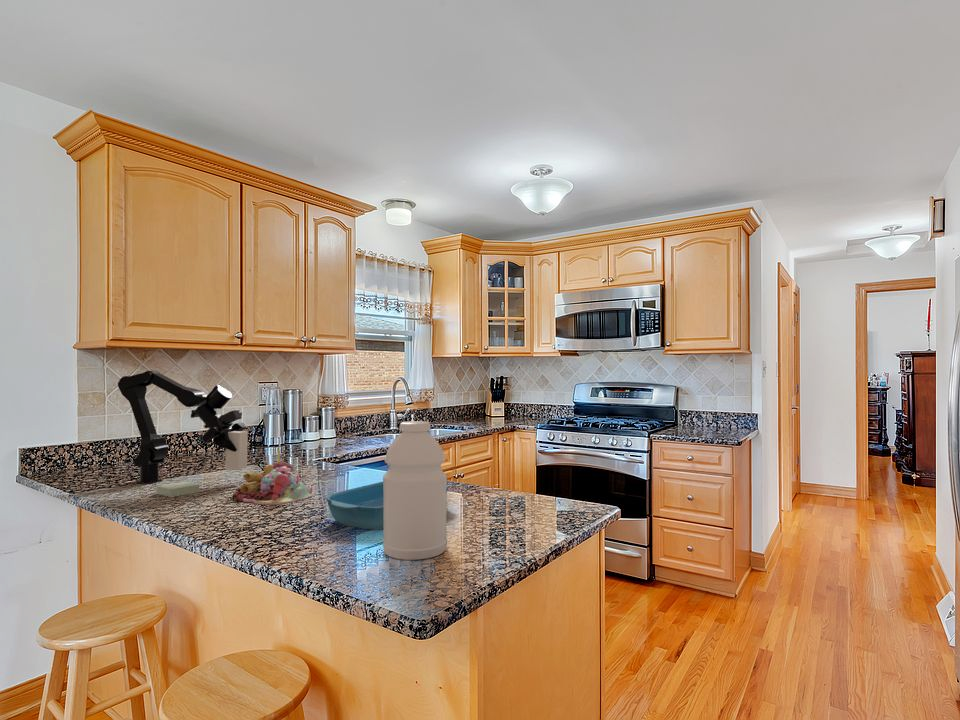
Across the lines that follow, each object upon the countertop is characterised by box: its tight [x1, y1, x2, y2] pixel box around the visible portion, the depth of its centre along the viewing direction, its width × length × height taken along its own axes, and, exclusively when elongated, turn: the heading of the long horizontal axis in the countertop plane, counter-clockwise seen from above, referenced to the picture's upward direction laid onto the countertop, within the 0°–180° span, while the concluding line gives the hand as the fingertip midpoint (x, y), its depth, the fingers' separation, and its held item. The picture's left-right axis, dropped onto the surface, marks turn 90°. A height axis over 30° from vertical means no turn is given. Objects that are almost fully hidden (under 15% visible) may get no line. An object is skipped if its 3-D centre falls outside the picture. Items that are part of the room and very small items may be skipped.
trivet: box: [156, 481, 200, 498], centre depth 176 cm, size 9×9×2 cm
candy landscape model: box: [230, 464, 315, 506], centre depth 173 cm, size 25×24×9 cm
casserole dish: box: [326, 481, 450, 531], centre depth 149 cm, size 37×22×7 cm, turn 146°
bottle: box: [382, 420, 448, 561], centre depth 119 cm, size 14×14×28 cm
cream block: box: [224, 430, 249, 471], centre depth 191 cm, size 5×5×13 cm
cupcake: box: [271, 448, 294, 475], centre depth 195 cm, size 9×8×12 cm
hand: (240, 449), depth 191 cm, fingers closed on cream block, 5 cm apart
